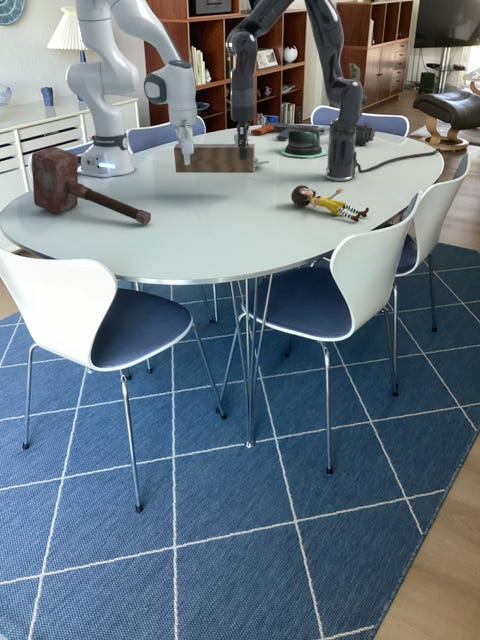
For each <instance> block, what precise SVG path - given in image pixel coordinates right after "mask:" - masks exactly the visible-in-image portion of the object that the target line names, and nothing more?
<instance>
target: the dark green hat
mask: <svg viewBox="0 0 480 640" xmlns="http://www.w3.org/2000/svg"><path fill="white" fill-rule="evenodd" d="M320 133H321V132H319V131H318V130H316V129H311V128H298V129H294V130H291V131H289V137H288V139H287V140H288V141H287V142H288V143H287V145H286V146H285V147H283V148H281V149H280V150H279V153H280V154H282V155H285V156H289V157H296V158H297V157H298V158H307V159H309V158H310V159H311V158H313V159H314V158H317V157H323V156H326V155H327V154H328V149H327V150H326V149H325V148H322V146H321V144H320V142H321V135H320Z"/></svg>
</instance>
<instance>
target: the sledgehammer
mask: <svg viewBox="0 0 480 640" xmlns="http://www.w3.org/2000/svg"><path fill="white" fill-rule="evenodd" d="M78 164H79V163H78V158H77V155H76V154H74V153H72V152H69V151H66V150H65V149H61V148H59V147H56V146H50V147H48V148H44V149H41V150H38V151H34V152H33V153H31V169H32V171H31V172H32V189H33V203H34V205H35V206H37V207H38V208H40V209H43V210H45V211H48V212H50V213H52V214H54V215H56V216H58V215H60V214H62V213H65V212H67V211H68V210H71V209H73V208H76V207H78V204H79V203H78V201H79V199H82V200H85V201H90V202H92V203H95V204H96V205H99V206H101V207H104V208H107V209H108V210H110V211H114V212H116V213H118V214H120V215H123V216H126V217H128V218H130V219H132V220H135V221H136V222H137V223H140V224H142V225H145V226H147V225H149V223H150V222H151V220H152V218H151V217H152V213H150V212H148V211H146V210H144V209H139V208H136V207H134V206H132V205H129V204H126V203H124V202H122V201H119V200H117V199H115V198H112V197H110V196H107V195H105V194H103V193H101V192H99V191H95V190H93V189H92V188H90V187H88V186H85V185H84V184H83V183H80V182H78V181H79V174H78V168H79V165H78Z"/></svg>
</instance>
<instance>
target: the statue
mask: <svg viewBox="0 0 480 640" xmlns="http://www.w3.org/2000/svg"><path fill="white" fill-rule="evenodd" d="M348 70H349V73H350V75H349V76H350V78H349V80H355V81H357V82H359V83H360V85H361V87H362V103H361V110H360V117H362V116H363V108H364V104H365V103H367V102H368V96H367V95H366V94H365V91H364V86H363V84H362V82H361V68H360V67H359V66H358V65H357V64H356V63H351V62H350V63H348ZM357 125H359V124H358V123H357Z"/></svg>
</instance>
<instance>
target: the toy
mask: <svg viewBox="0 0 480 640" xmlns="http://www.w3.org/2000/svg"><path fill="white" fill-rule="evenodd" d="M375 133H376V129H375V127H374V126H372V123H370V122H363V124H358V125H357V127H356V138H355V145H358V146H359V145H360V146H366V144H367V143H369V142H373V140H374V138H375Z"/></svg>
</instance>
